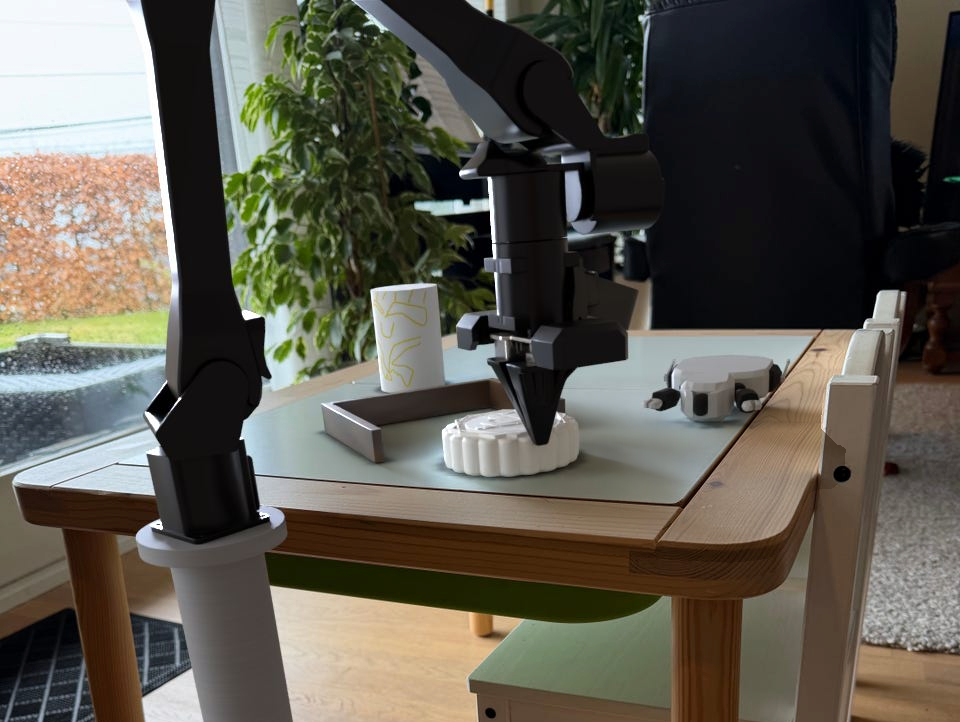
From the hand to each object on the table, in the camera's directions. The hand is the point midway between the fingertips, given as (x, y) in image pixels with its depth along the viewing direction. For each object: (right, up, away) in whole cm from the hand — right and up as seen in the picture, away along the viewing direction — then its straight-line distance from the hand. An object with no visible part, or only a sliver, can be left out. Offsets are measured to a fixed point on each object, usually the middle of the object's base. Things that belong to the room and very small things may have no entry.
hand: (541, 444), depth 81 cm
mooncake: (-2, 0, +7) cm, 7 cm away
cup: (-13, +16, +44) cm, 49 cm away
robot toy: (+19, +7, +19) cm, 27 cm away
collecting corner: (-9, +5, +19) cm, 21 cm away
